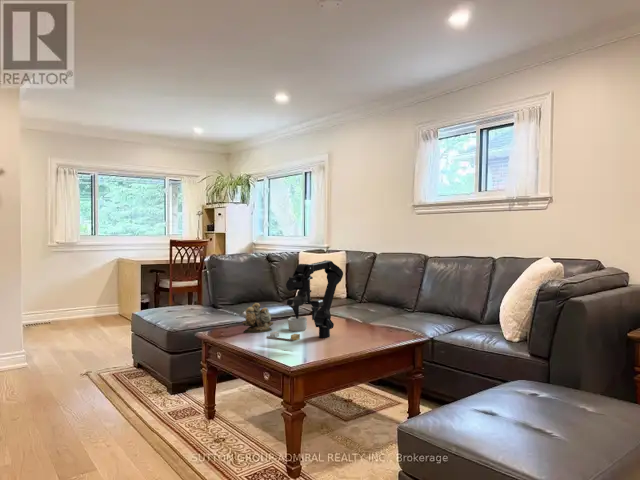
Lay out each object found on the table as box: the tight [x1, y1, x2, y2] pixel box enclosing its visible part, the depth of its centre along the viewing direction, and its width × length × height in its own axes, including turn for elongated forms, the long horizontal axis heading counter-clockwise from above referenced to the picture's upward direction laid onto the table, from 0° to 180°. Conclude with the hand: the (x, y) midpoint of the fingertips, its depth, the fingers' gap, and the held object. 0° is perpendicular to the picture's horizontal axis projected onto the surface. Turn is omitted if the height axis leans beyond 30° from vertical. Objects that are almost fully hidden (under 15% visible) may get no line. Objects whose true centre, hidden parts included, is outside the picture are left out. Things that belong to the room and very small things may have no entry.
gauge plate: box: [266, 335, 294, 342], centre depth 236 cm, size 14×19×2 cm
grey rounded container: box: [287, 316, 308, 332], centre depth 257 cm, size 14×11×8 cm
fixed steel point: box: [269, 331, 280, 338], centre depth 237 cm, size 6×3×2 cm, turn 151°
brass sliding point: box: [289, 333, 301, 342], centre depth 231 cm, size 5×3×2 cm, turn 151°
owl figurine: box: [242, 302, 274, 334], centre depth 254 cm, size 18×12×17 cm, turn 120°
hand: (305, 319), depth 226 cm, fingers open, 9 cm apart
